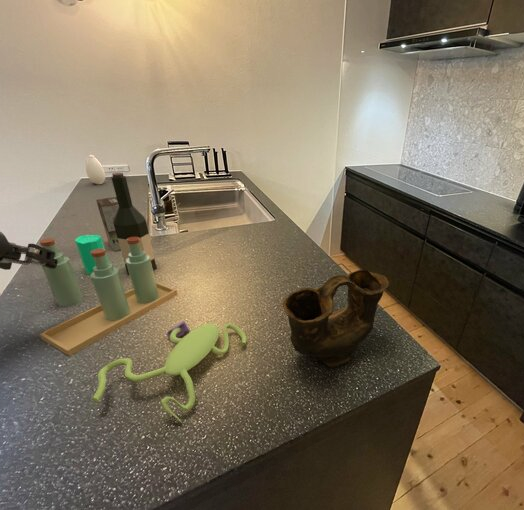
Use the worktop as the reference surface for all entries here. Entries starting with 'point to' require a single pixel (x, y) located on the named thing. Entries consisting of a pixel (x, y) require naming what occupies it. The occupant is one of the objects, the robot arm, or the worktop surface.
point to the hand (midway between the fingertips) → (32, 264)
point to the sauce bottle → (95, 170)
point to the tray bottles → (111, 284)
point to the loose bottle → (61, 277)
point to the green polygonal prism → (89, 250)
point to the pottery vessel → (334, 316)
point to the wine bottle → (129, 221)
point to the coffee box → (109, 219)
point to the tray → (99, 323)
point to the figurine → (178, 359)
